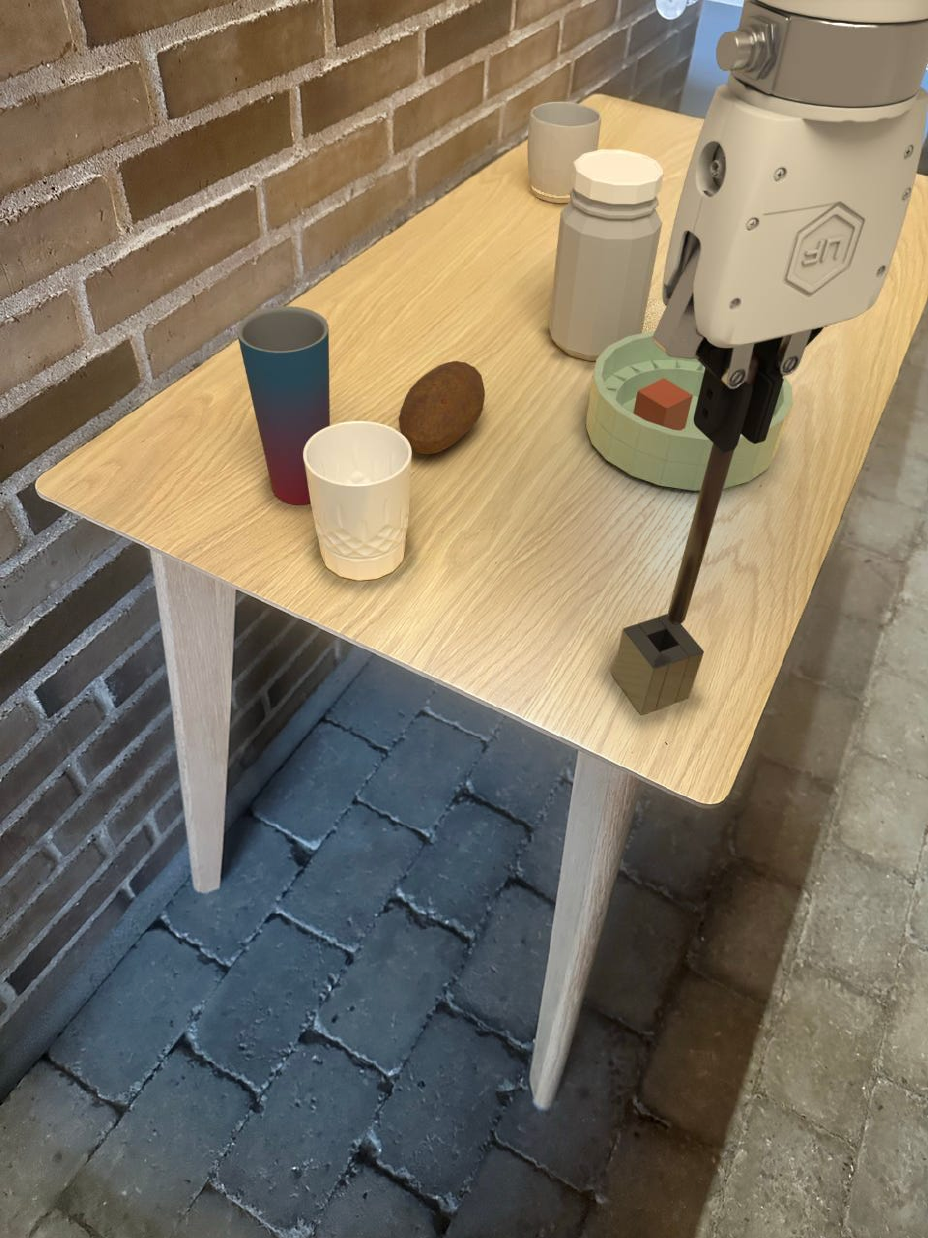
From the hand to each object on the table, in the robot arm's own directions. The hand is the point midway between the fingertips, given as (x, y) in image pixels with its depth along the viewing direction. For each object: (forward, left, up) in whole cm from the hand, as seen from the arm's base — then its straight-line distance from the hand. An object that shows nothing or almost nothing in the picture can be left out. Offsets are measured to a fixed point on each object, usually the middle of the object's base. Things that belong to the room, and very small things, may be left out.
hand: (728, 432), depth 51 cm
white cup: (+14, -21, -22) cm, 34 cm away
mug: (-36, -79, -22) cm, 90 cm away
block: (-17, -27, -21) cm, 38 cm away
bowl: (-19, -25, -22) cm, 38 cm away
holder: (0, 0, -22) cm, 22 cm away
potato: (+2, -33, -22) cm, 40 cm away
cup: (+16, -31, -22) cm, 42 cm away
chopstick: (0, 0, -15) cm, 15 cm away
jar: (-20, -43, -22) cm, 52 cm away
